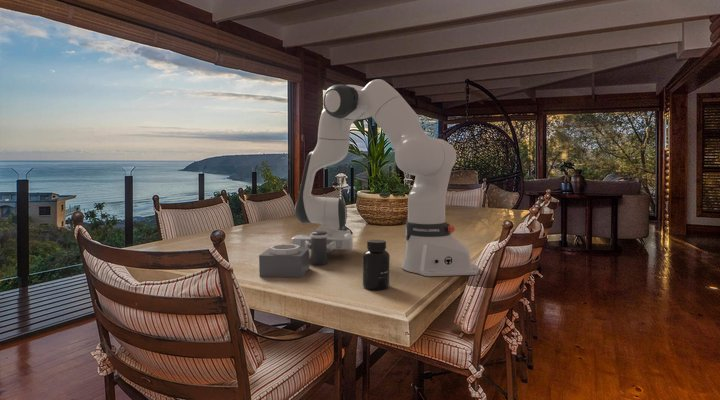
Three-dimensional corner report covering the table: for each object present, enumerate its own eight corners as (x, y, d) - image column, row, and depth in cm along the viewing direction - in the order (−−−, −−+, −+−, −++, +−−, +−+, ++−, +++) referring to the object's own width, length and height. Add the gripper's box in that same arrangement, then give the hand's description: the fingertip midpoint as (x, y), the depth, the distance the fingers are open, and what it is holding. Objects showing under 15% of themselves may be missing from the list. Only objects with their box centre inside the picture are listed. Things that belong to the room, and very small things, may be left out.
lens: (328, 261, 136) (328, 231, 135) (325, 265, 131) (325, 233, 130) (312, 261, 136) (312, 230, 135) (309, 265, 131) (308, 233, 130)
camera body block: (309, 268, 128) (308, 243, 127) (301, 277, 118) (301, 250, 117) (270, 267, 129) (269, 243, 128) (259, 276, 119) (258, 250, 118)
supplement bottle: (387, 291, 105) (387, 244, 104) (360, 290, 107) (360, 243, 105) (391, 283, 112) (391, 239, 111) (365, 282, 113) (365, 238, 112)
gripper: (295, 229, 147) (285, 236, 133) (354, 230, 145) (350, 237, 131) (296, 247, 147) (285, 256, 133) (354, 248, 145) (350, 257, 132)
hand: (318, 246), depth 132 cm, fingers closed on lens, 5 cm apart
